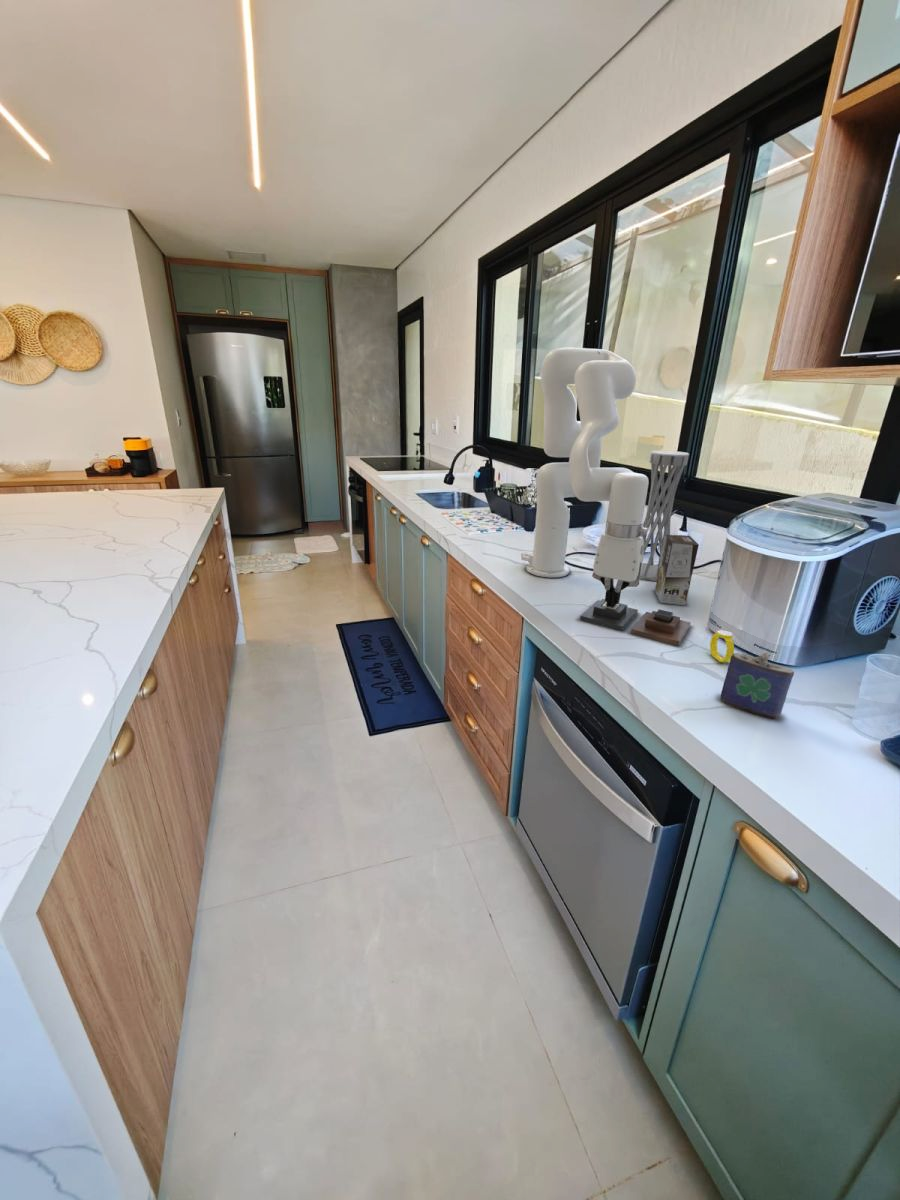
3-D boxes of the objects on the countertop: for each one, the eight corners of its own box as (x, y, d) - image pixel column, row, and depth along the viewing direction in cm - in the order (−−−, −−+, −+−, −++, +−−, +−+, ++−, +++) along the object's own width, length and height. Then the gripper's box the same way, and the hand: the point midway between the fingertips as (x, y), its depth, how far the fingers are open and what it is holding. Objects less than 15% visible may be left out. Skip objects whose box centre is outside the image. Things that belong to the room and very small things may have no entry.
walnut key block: (631, 633, 113) (633, 621, 111) (645, 616, 122) (647, 604, 121) (678, 646, 107) (681, 633, 106) (689, 626, 117) (692, 615, 115)
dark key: (653, 620, 113) (655, 613, 113) (657, 616, 116) (658, 609, 115) (668, 624, 112) (670, 617, 111) (672, 619, 114) (673, 612, 113)
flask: (780, 714, 85) (798, 658, 81) (778, 722, 83) (796, 665, 79) (721, 694, 90) (735, 641, 86) (717, 702, 88) (731, 647, 84)
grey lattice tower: (675, 571, 153) (699, 452, 140) (668, 584, 143) (694, 456, 129) (629, 563, 160) (648, 448, 146) (619, 575, 149) (639, 452, 135)
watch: (733, 666, 100) (741, 639, 98) (720, 666, 100) (727, 640, 97) (717, 652, 105) (723, 626, 103) (704, 652, 105) (710, 626, 103)
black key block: (579, 620, 119) (581, 608, 118) (597, 604, 128) (598, 593, 127) (622, 631, 114) (624, 619, 112) (637, 614, 123) (639, 602, 122)
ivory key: (601, 612, 120) (602, 605, 119) (605, 608, 122) (606, 601, 122) (614, 615, 118) (615, 608, 118) (618, 611, 121) (619, 604, 120)
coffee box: (686, 605, 128) (699, 544, 122) (659, 603, 129) (671, 542, 123) (678, 592, 137) (691, 535, 130) (653, 590, 138) (664, 533, 131)
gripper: (661, 531, 111) (647, 607, 118) (596, 521, 119) (586, 593, 126) (653, 538, 106) (639, 618, 113) (584, 527, 113) (575, 602, 120)
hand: (611, 605), depth 119 cm, fingers closed
